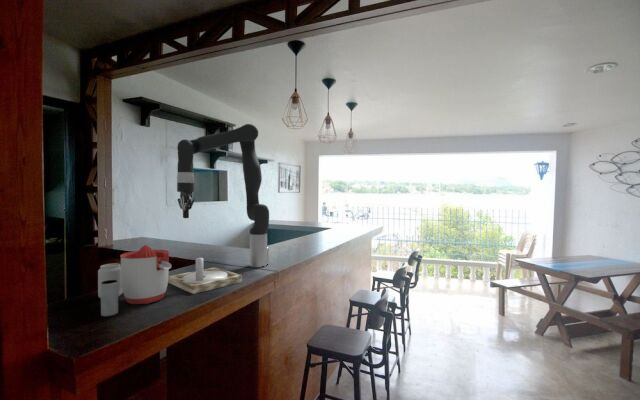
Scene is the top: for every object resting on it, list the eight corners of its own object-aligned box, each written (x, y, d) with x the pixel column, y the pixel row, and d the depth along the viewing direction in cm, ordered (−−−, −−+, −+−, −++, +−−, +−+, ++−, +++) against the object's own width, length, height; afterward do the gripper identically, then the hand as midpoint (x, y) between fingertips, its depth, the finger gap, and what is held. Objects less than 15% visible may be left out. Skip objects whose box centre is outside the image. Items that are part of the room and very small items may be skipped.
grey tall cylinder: (115, 309, 101) (115, 278, 101) (120, 313, 98) (120, 281, 98) (99, 314, 98) (98, 281, 98) (103, 317, 95) (103, 284, 95)
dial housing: (215, 273, 149) (215, 266, 149) (242, 282, 134) (242, 274, 134) (168, 283, 132) (168, 275, 132) (192, 294, 117) (192, 286, 117)
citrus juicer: (152, 309, 102) (152, 249, 101) (108, 305, 105) (108, 247, 105) (182, 294, 117) (182, 242, 117) (143, 291, 120) (143, 240, 120)
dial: (193, 273, 142) (193, 251, 142) (232, 273, 142) (232, 251, 142) (175, 284, 124) (175, 259, 124) (219, 284, 124) (219, 259, 124)
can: (113, 300, 111) (113, 267, 110) (93, 300, 111) (92, 266, 110) (127, 293, 118) (126, 262, 118) (107, 293, 118) (107, 262, 118)
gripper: (199, 182, 145) (199, 218, 146) (187, 182, 154) (187, 217, 155) (184, 181, 140) (184, 219, 140) (171, 182, 149) (171, 217, 149)
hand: (185, 218), depth 147 cm, fingers closed
